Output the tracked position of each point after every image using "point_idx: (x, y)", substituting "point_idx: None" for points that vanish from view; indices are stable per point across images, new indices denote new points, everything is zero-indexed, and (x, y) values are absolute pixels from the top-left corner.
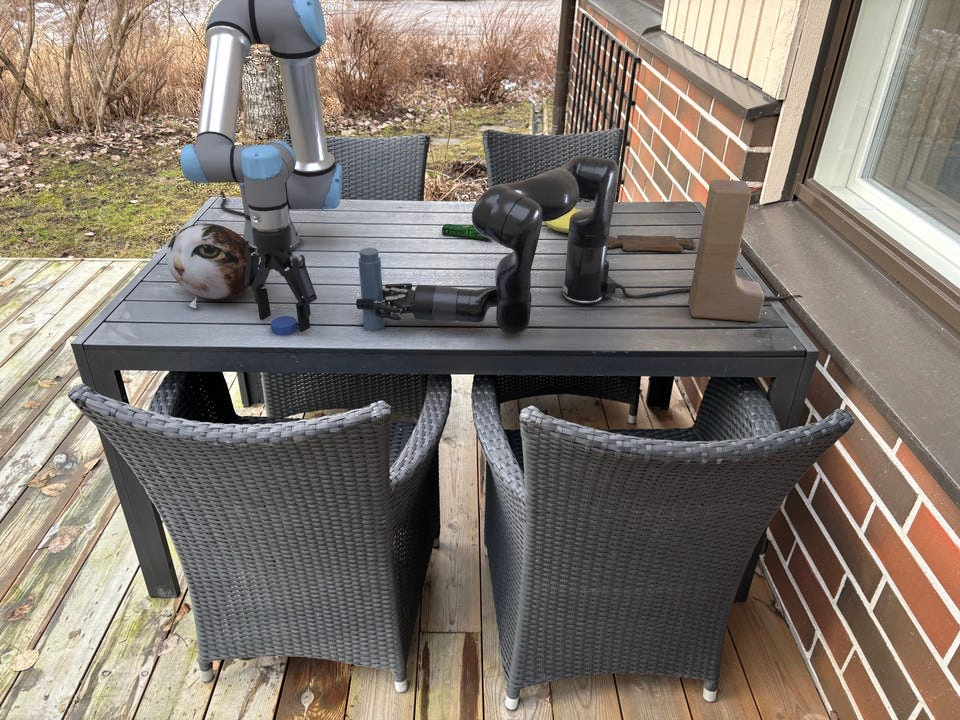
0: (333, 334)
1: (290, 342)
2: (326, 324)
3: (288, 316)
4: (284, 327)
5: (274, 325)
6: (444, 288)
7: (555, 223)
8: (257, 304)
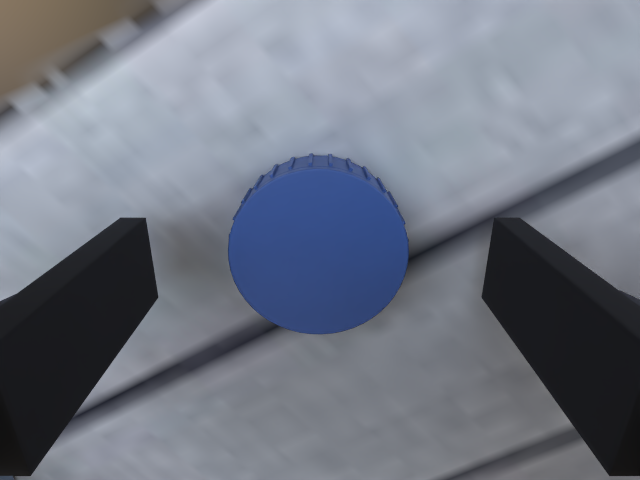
0: None
1: (159, 119)
2: (160, 386)
3: (343, 326)
4: (250, 195)
5: (336, 179)
6: None
7: None
8: (590, 270)
